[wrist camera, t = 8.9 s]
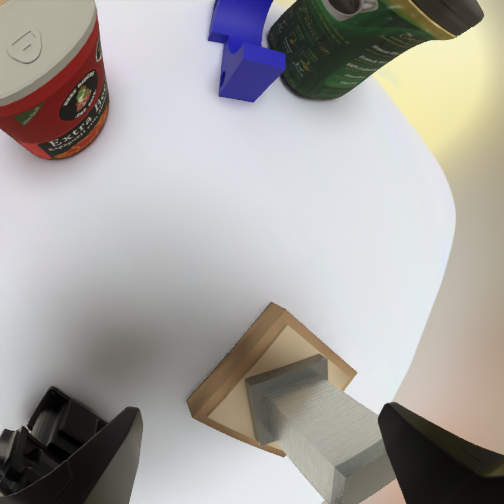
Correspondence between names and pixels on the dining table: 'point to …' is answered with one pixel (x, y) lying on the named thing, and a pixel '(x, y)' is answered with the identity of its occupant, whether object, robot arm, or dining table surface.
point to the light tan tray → (256, 362)
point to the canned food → (51, 75)
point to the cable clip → (244, 48)
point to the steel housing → (320, 430)
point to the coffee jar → (359, 38)
